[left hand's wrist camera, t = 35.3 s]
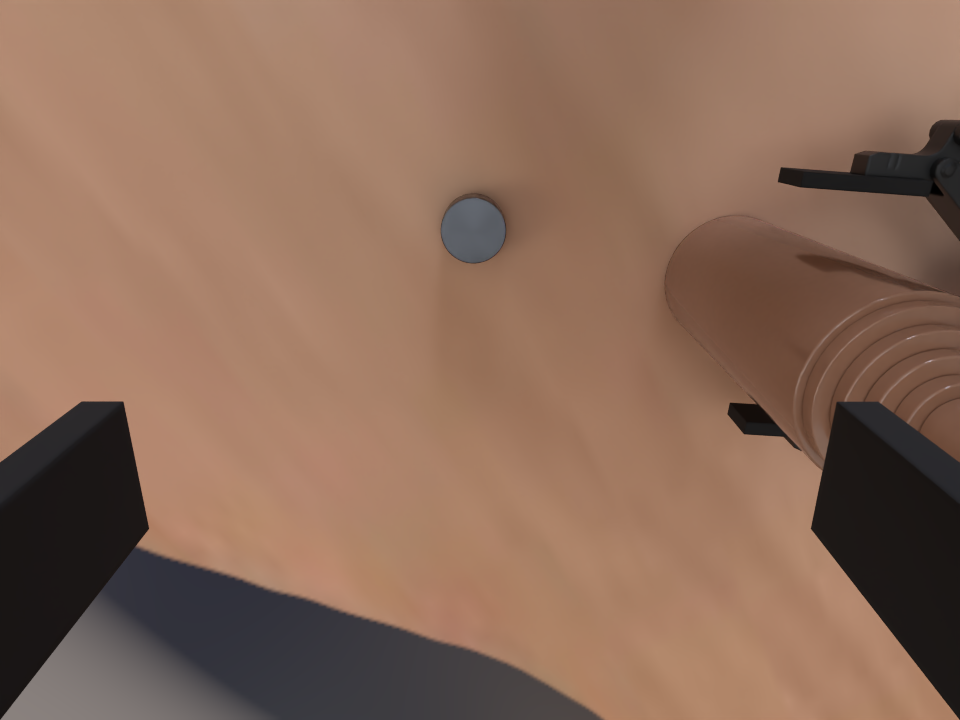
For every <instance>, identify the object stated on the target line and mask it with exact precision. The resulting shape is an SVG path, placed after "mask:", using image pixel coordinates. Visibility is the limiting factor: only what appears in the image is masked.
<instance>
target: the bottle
mask: <svg viewBox="0 0 960 720" xmlns="http://www.w3.org/2000/svg"><path fill="white" fill-rule="evenodd" d="M665 293H666V299H667V302H668V305H669V308H670V310H671V312H672V314H673V315H674V317H675V318H676V320H677V321H678V322H679V323H680V324H681V325H682V326H683V327H684V328H685V329H686V330H687V331H688V332H689V334H690V335H691V336H692V337H693V338H694V339H695V340H696V341H697V342H698V343H699V344H700V345H701V346H702V347H703V348H704V349H705V350H706V351H707V352H708V353H709V354H710V355H711V356H712V358H713V359H714V360H715V361H716V362H717V363H718V364H719V365H720V366H721V367H722V368H723V369H724V370H725V371H726V372H727V373H728V374H729V375H730V376H731V377H732V378H733V379H734V380H735V381H736V383H737V384H738V385H739V386H740V387H741V388H742V389H743V390H744V391H745V392H746V393H747V394H748V395H749V396H750V397H751V398H752V399H753V400H754V401H755V402H756V403H757V404H758V405H759V407H760V408H761V409H762V410H763V411H764V412H765V413H766V414H767V415H768V416H769V417H770V418H771V419H772V420H773V421H774V422H775V423H776V424H777V425H778V426H779V427H780V428H781V429H782V430H783V432H784V433H785V434H786V435H787V436H788V437H789V438H790V439H791V440H792V441H793V442H794V443H795V444H796V445H797V446H798V447H799V448H800V449H801V450H802V451H803V452H804V453H805V454H806V456H807V457H808V458H809V459H810V460H811V461H812V462H813V463H814V464H815V465H816V466H817V467H819V468H820V469H821V470H823V467H824V462H825V457H826V452H827V447H828V442H829V437H830V432H831V427H832V422H833V417H834V412H835V407H836V402H879V403H881V404H882V405H883V406H885V407H886V408H888V409H889V410H890V411H892V412H893V413H894V414H896V415H897V416H898V417H900V418H901V419H902V420H904V421H905V422H906V423H908V424H909V425H910V426H912V427H913V428H914V429H916V430H917V431H918V432H920V433H921V434H922V435H924V436H925V437H926V438H928V439H929V440H930V441H932V442H933V443H934V444H936V445H937V446H938V447H940V448H941V449H942V450H944V451H945V452H946V453H948V454H949V455H950V456H952V457H953V458H954V459H956V460H957V461H958V462H960V297H959V296H956V295H954V294H951V293H948V292H946V291H943V290H941V289H938V288H935V287H933V286H930V285H928V284H925V283H922V282H920V281H917V280H915V279H912V278H909V277H907V276H904V275H902V274H899V273H896V272H894V271H891V270H889V269H886V268H883V267H881V266H878V265H876V264H873V263H870V262H868V261H865V260H863V259H860V258H857V257H855V256H852V255H850V254H847V253H844V252H842V251H839V250H837V249H834V248H832V247H829V246H826V245H824V244H821V243H819V242H816V241H813V240H811V239H808V238H806V237H803V236H800V235H798V234H795V233H793V232H790V231H787V230H785V229H782V228H780V227H777V226H774V225H772V224H769V223H767V222H764V221H761V220H759V219H756V218H752V217H747V216H726V217H721V218H718V219H714V220H712V221H709V222H707V223H705V224H703V225H701V226H700V227H698V228H697V229H695V230H694V231H693V232H691V233H690V234H689V235H688V236H687V237H686V238H685V239H684V240H683V241H682V242H681V243H680V245H679V246H678V248H677V249H676V250H675V252H674V254H673V256H672V258H671V260H670V262H669V265H668V268H667V272H666V278H665Z"/></svg>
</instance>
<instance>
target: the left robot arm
mask: <svg viewBox="0 0 960 720" xmlns="http://www.w3.org/2000/svg"><path fill="white" fill-rule="evenodd" d="M148 529H149V526H148V521H147V516H146V511H145V506H144V501H143V496H142V492H141V487H140V482H139V477H138V472H137V467H136V462H135V457H134V452H133V447H132V442H131V437H130V432H129V427H128V422H127V417H126V412H125V407H124V402H81V403H79V404H78V405H77V406H75V407H74V408H72V409H71V410H70V411H68V412H67V413H66V414H64V415H63V416H62V417H60V418H59V419H58V420H56V421H55V422H54V423H52V424H51V425H50V426H48V427H47V428H46V429H44V430H43V431H42V432H40V433H39V434H38V435H36V436H35V437H34V438H32V439H31V440H30V441H28V442H27V443H26V444H24V445H23V446H22V447H20V448H19V449H18V450H16V451H15V452H14V453H12V454H11V455H10V456H8V457H7V458H6V459H4V460H3V461H2V462H0V719H1V718H2V717H3V716H4V714H5V713H6V712H7V710H8V709H9V708H10V707H11V705H12V704H13V703H14V701H15V700H16V699H17V698H18V696H19V695H20V694H21V692H22V691H23V690H24V689H25V687H26V686H27V685H28V683H29V682H30V681H31V680H32V678H33V677H34V676H35V674H36V673H37V672H38V671H39V669H40V668H41V667H42V665H43V664H44V663H45V662H46V660H47V659H48V658H49V656H50V655H51V654H52V653H53V651H54V650H55V649H56V648H57V646H58V645H59V644H60V642H61V641H62V640H63V639H64V637H65V636H66V635H67V633H68V632H69V631H70V630H71V628H72V627H73V626H74V624H75V623H76V622H77V621H78V619H79V618H80V617H81V615H82V614H83V613H84V612H85V610H86V609H87V608H88V606H89V605H90V604H91V603H92V601H93V600H94V599H95V597H96V596H97V595H98V594H99V592H100V591H101V590H102V588H103V587H104V586H105V585H106V583H107V582H108V581H109V579H110V578H111V577H112V576H113V574H114V573H115V572H116V570H117V569H118V568H119V567H120V565H121V564H122V563H123V561H124V560H125V559H126V558H127V556H128V555H129V554H130V553H131V551H132V550H133V549H134V547H135V546H136V545H137V544H138V542H139V541H140V540H141V538H142V537H143V536H144V535H145V533H146V532H147V531H148ZM811 529H812V531H813V532H814V533H815V535H816V536H817V537H818V538H819V540H820V541H821V542H822V544H823V545H824V546H825V547H826V549H827V550H828V551H829V553H830V554H831V555H832V556H833V558H834V559H835V560H836V562H837V563H838V564H839V565H840V567H841V568H842V569H843V570H844V572H845V573H846V574H847V576H848V577H849V578H850V579H851V581H852V582H853V583H854V585H855V586H856V587H857V588H858V590H859V591H860V592H861V594H862V595H863V596H864V597H865V599H866V600H867V601H868V603H869V604H870V605H871V606H872V608H873V609H874V610H875V612H876V613H877V614H878V615H879V617H880V618H881V619H882V621H883V622H884V623H885V624H886V626H887V627H888V628H889V630H890V631H891V632H892V633H893V635H894V636H895V637H896V639H897V640H898V641H899V642H900V644H901V645H902V646H903V648H904V649H905V650H906V651H907V653H908V654H909V655H910V656H911V658H912V659H913V660H914V662H915V663H916V664H917V665H918V667H919V668H920V669H921V671H922V672H923V673H924V674H925V676H926V677H927V678H928V680H929V681H930V682H931V683H932V685H933V686H934V687H935V689H936V690H937V691H938V692H939V694H940V695H941V696H942V698H943V699H944V700H945V701H946V703H947V704H948V705H949V707H950V708H951V709H952V710H953V712H954V713H955V714H956V716H957V717H958V718H959V719H960V462H958V461H957V460H956V459H954V458H953V457H952V456H950V455H949V454H948V453H946V452H945V451H944V450H942V449H941V448H940V447H938V446H937V445H936V444H934V443H933V442H932V441H930V440H929V439H928V438H926V437H925V436H924V435H922V434H921V433H920V432H918V431H917V430H916V429H914V428H913V427H912V426H910V425H909V424H908V423H906V422H905V421H904V420H902V419H901V418H900V417H898V416H897V415H896V414H894V413H893V412H892V411H890V410H889V409H888V408H886V407H885V406H883V405H882V404H881V403H879V402H836V407H835V412H834V417H833V422H832V427H831V432H830V437H829V442H828V447H827V452H826V457H825V462H824V467H823V472H822V477H821V482H820V487H819V492H818V496H817V501H816V506H815V511H814V516H813V521H812V526H811Z"/></svg>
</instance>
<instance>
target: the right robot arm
mask: <svg viewBox="0 0 960 720" xmlns="http://www.w3.org/2000/svg"><path fill="white" fill-rule="evenodd" d="M929 137H930V140H929V142H928V143H927V145H926V146H925V147H924V148H923V149H922V150H921V151H919V152H918V153H915V154H901V153H888V152H874V151H863V152H860V153H857V154H855V155H854V159H853V163H852V167H851V171H850V173H849V172H835V171H822V170H809V169H796V168H782V167H781V169H780V174H779V179H778V182H780V183H784V184H789V185H793V186H797V187H803V188H817V189H830V190H844V191H857V192H870V193H884V194H897V195H910V196H924V197H926V198H927V200H928V201H929V202H930V203H931V205H932V206H933V207H934V209H935V210H936V211H937V212H938V214H939V215H940V216H941V218H942V219H943V220H944V221H945V223H946V224H947V225H948V227H949V228H950V229H951V230H952V232H953V233H954V234H955V236H956V237H957V238H958V240H959V241H960V120H940V121H938V122H936V123H935V124H934V125H933V126H932V127H931V129H930V133H929ZM728 415H729V417H730V418H731V419H732V420H733V421H734V423H735V424H736V425H737V426H738V427H739V429H740V430H741V431H742V432H743V433H744V434H749V435H765V436H781V437H784V438H785V439H786V440H787V441H788V442H789V443H790V444H791V445H792V446H793V447H794V448H796V449H798V450H800V451H802V450H801V449H800V448H799V447H798V446H797V445H796V444H795V443H794V442H793V441H792V440H791V439H790V438H789V437H788V436H787V435H786V434H785V433H784V432H783V430H782V429H781V428H780V427H779V426H778V425H777V424H776V423H775V422H774V421H773V420H772V419H771V418H770V417H769V416H768V415H767V414H766V413H765V412H764V411H763V410H762V409H761V408H760V407H759V405H757V404H742V403H730V405H729V410H728Z"/></svg>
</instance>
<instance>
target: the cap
mask: <svg viewBox="0 0 960 720" xmlns="http://www.w3.org/2000/svg"><path fill="white" fill-rule="evenodd" d="M505 236H506V225H505V221H504V217H503V214H502V211H501V209H500V208H499V206H498V205H497V204H496V203H495V202H494V201H493V200H492V199H490V198H489V197H487V196H484V195H481V194H466V195H463V196H460V197H458V198H457V199H455V200H454V201H453V202H452V203H451V204H450V205H449V206H448V208H447V209H446V211H445V214H444V217H443V220H442V224H441V237H442V241H443V243H444V246H445V247H446V249H447V250H448V251H449V253H450V254H451V255H452V256H454V257H455V258H457V259H458V260H461V261H463V262H467V263H480V262H484V261H487V260H489V259H490V258H492V257H493V256H495V255H496V254H497V253H498V251H499V250H500V249H501V247H502V245H503V243H504V240H505Z"/></svg>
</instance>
